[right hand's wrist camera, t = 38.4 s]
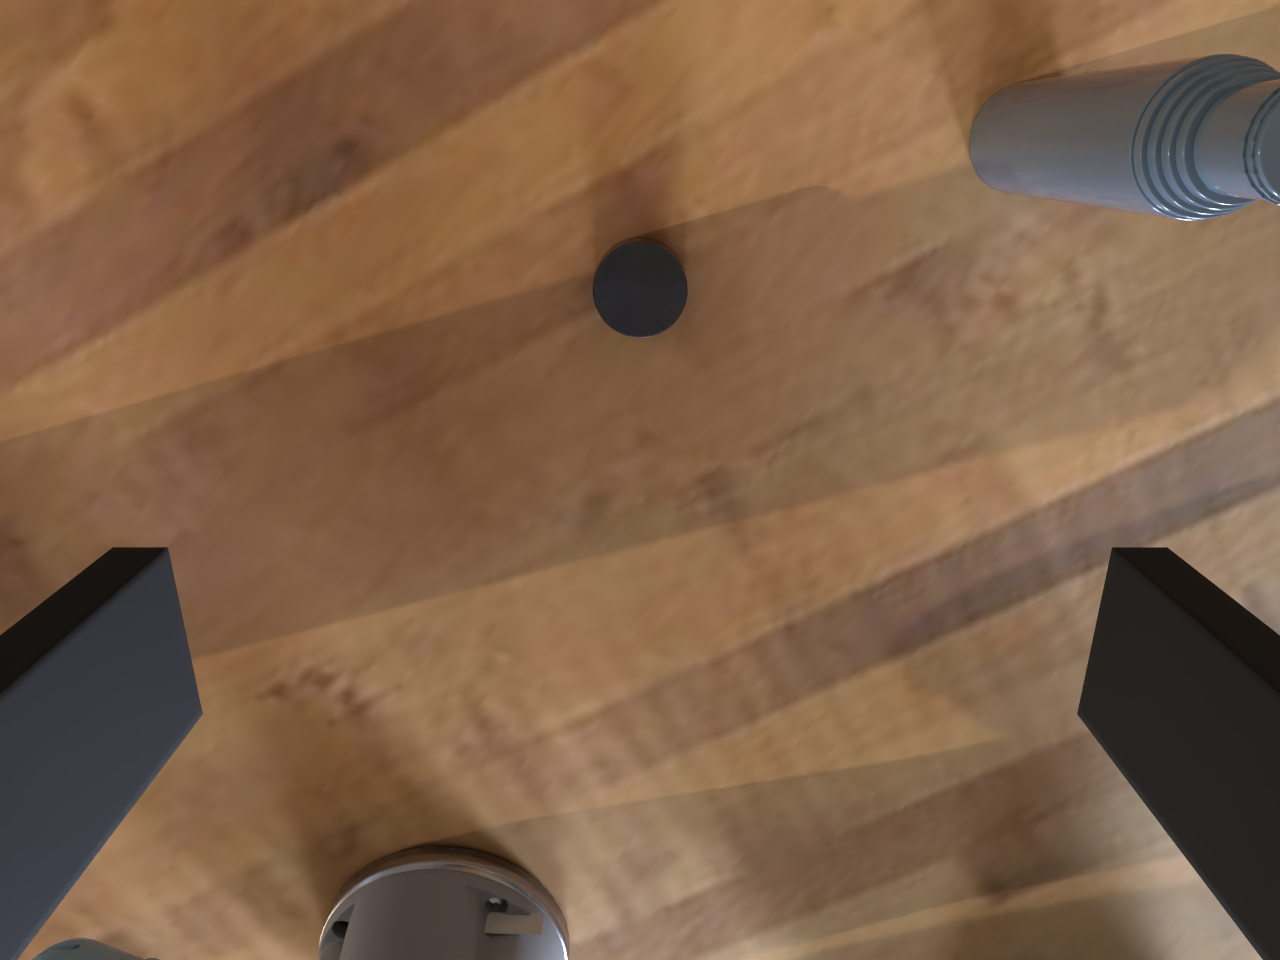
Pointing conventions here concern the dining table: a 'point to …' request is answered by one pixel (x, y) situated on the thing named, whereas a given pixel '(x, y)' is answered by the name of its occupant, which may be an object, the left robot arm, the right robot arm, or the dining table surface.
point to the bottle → (1139, 137)
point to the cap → (640, 287)
